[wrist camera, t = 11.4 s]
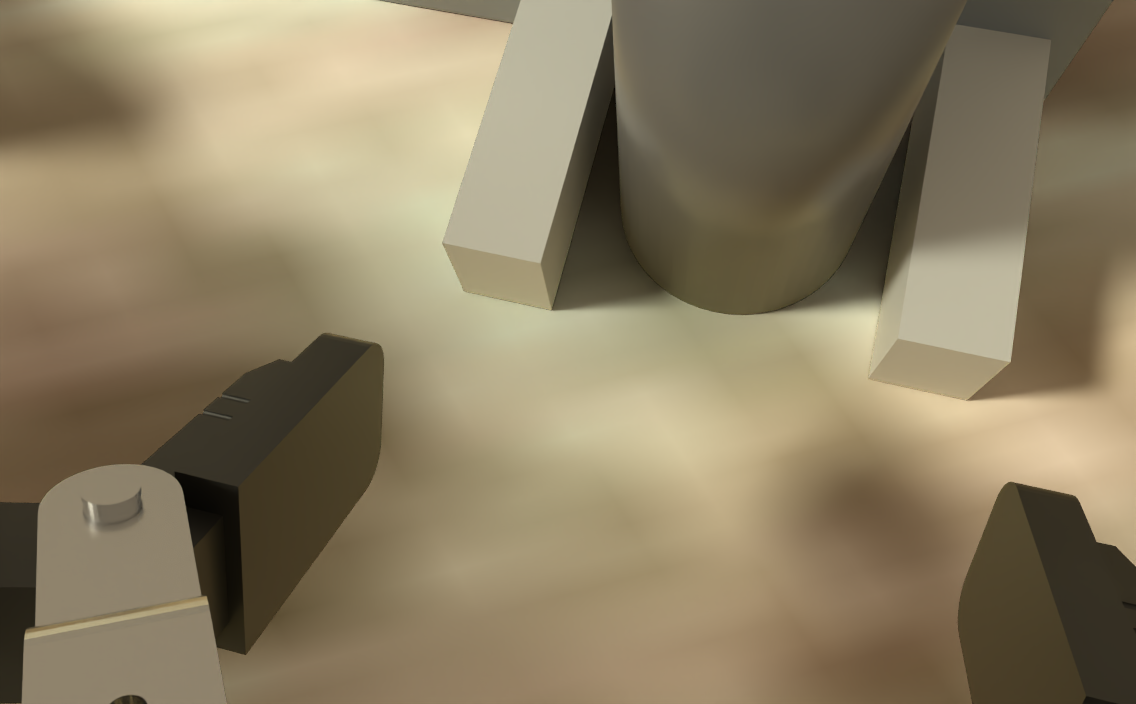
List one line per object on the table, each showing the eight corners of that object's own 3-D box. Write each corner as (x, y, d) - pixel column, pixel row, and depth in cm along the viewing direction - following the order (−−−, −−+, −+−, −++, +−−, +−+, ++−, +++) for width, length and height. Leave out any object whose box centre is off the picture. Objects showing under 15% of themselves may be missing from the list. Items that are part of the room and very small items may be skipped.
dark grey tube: (596, 286, 21) (551, -90, 11) (650, 86, 23) (656, -410, 13) (835, 337, 21) (1030, -16, 10) (875, 127, 22) (1080, -366, 12)
